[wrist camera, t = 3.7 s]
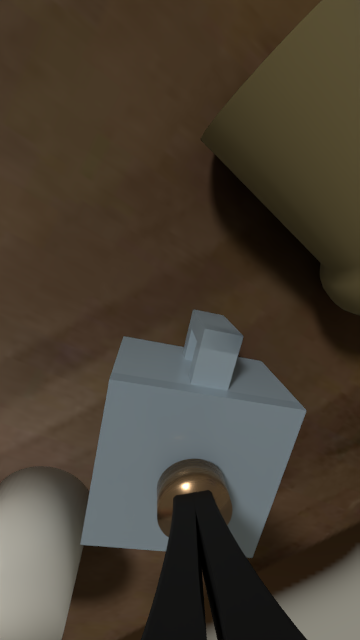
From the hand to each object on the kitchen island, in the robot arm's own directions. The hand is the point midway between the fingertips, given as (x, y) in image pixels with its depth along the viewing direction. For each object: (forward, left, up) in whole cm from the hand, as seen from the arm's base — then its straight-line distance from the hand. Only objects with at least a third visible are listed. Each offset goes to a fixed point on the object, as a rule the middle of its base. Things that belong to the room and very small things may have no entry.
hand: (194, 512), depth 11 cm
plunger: (0, 0, -6) cm, 6 cm away
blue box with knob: (0, -1, -7) cm, 7 cm away
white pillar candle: (+7, +8, -7) cm, 13 cm away
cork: (+1, -16, -4) cm, 16 cm away
